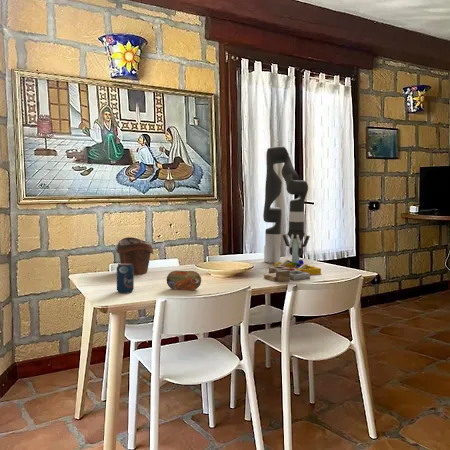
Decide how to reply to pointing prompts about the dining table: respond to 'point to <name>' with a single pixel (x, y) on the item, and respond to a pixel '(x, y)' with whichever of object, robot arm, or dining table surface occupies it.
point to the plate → (270, 276)
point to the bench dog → (282, 275)
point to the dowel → (295, 251)
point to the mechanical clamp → (299, 267)
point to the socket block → (274, 269)
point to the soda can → (125, 278)
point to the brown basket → (135, 253)
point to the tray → (299, 275)
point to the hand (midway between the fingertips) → (295, 255)
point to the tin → (183, 280)
